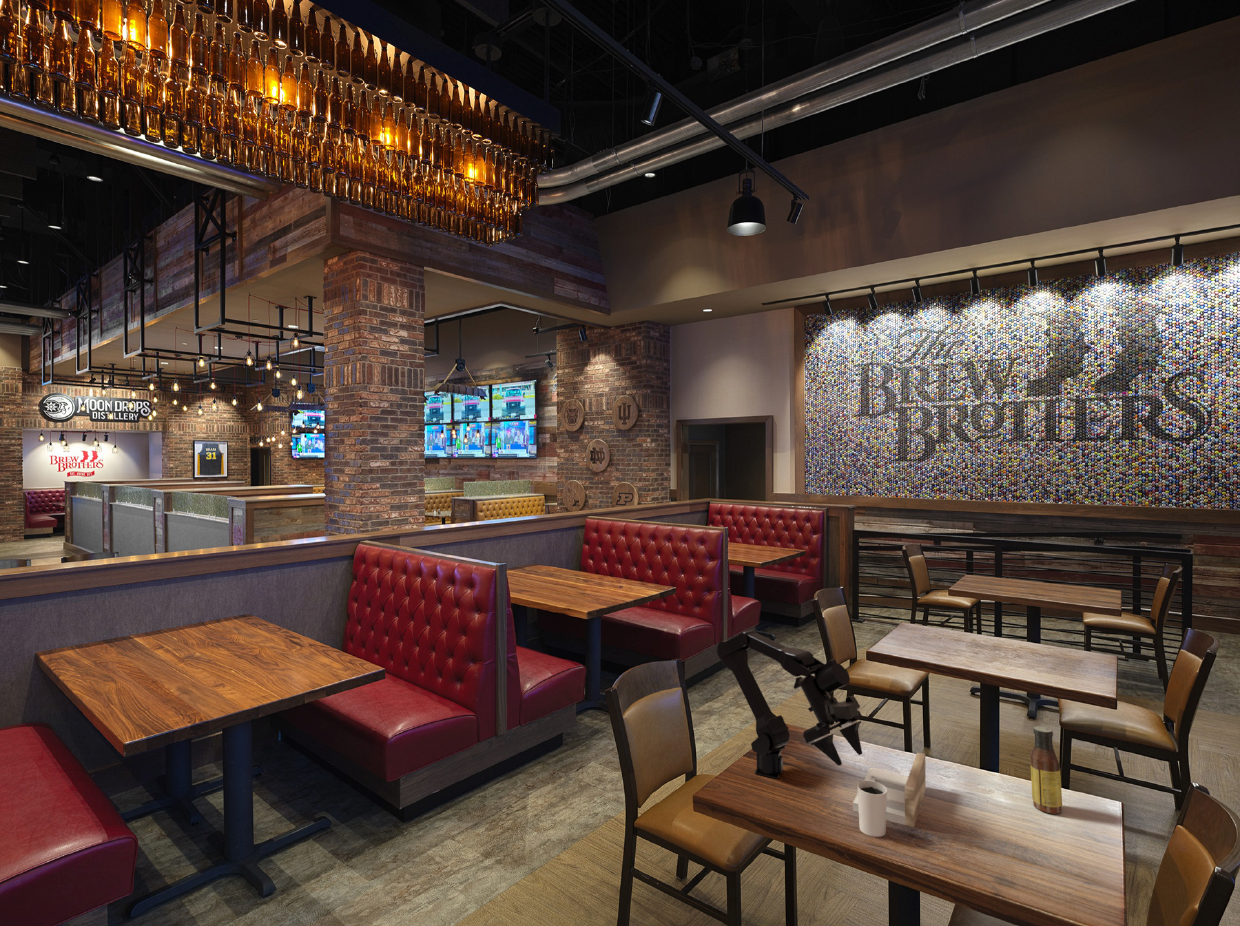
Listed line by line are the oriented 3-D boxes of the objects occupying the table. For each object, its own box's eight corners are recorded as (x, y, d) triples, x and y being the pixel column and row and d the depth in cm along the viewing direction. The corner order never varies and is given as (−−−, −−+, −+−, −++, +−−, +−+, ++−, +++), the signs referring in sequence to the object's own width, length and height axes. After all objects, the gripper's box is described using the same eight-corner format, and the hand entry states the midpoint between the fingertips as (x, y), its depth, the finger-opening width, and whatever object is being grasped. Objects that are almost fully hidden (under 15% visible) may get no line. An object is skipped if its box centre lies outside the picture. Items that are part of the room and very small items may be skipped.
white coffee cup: (851, 824, 150) (851, 782, 150) (875, 820, 152) (875, 778, 152) (869, 839, 144) (868, 796, 144) (893, 835, 145) (893, 792, 146)
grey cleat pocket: (853, 810, 156) (852, 796, 156) (870, 774, 175) (870, 761, 175) (905, 825, 150) (904, 810, 150) (917, 785, 168) (917, 772, 168)
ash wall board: (905, 825, 150) (904, 787, 150) (917, 785, 168) (917, 752, 168) (914, 827, 149) (913, 789, 149) (925, 787, 167) (925, 754, 167)
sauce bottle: (1067, 810, 156) (1066, 731, 156) (1054, 818, 152) (1053, 736, 153) (1038, 799, 161) (1037, 722, 161) (1025, 805, 158) (1024, 727, 158)
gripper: (819, 696, 153) (853, 761, 145) (861, 679, 164) (894, 739, 157) (789, 711, 160) (820, 774, 152) (831, 694, 171) (861, 752, 164)
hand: (850, 759), depth 156 cm, fingers open, 9 cm apart
